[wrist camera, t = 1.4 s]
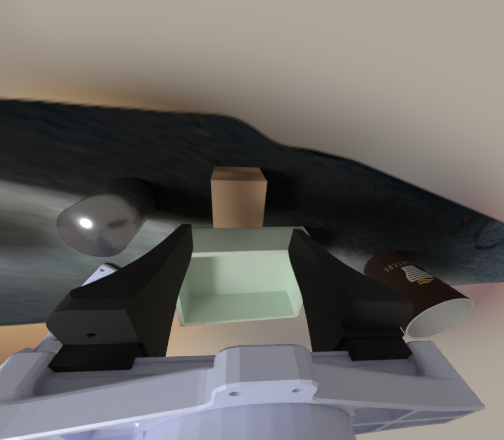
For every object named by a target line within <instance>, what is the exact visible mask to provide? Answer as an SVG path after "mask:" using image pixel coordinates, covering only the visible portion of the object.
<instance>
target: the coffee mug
mask: <svg viewBox="0 0 504 440" xmlns="http://www.w3.org/2000/svg"><path fill="white" fill-rule="evenodd" d="M364 273H365V275H366V276H367V277H369V278H371V279H373V280H375V281H377V282H379V283H381V284H384V285H386V286H388V287H391V288H393V289H395V290H398V291H400V292H401V293H402V294H403V295H404V296H405V297H406V299H407V300H408V301H409V302H410V303H411V305H412V306H413V309H414V310H413V314H412V316H411V317H410V318H409V319H408V320H407V321H406V322H405V323H404V324H403V325H402V326H401V328H402V329H403V331H404V332H405V334H406V335H407V336H408V337H409V338H412V339H423V338H428V337H432V336H435V335H438V334H441V333H443V332H446V331H448V330H450V329H452V328H453V327H455V326H457V325H458V324H460V323H461V322H463V321H464V320H465V319H466V318H467V317H468V316H469V315H470V314H471V313H472V311H473V309H474V307H475V304H474V302H473V301H472V300H470V299H469V298H468V297H466V296H464V295H463V294H461V293H460V292H458V291H457V290H455V289H454V288H452V287H450V286H449V285H447V284H446V283H444V282H443V281H441V280H439V279H438V278H436V277H435V276H433V275H432V274H430V273H429V272H427V271H425V270H424V269H422V268H421V267H419V266H418V265H416V264H414V263H413V262H411V261H410V260H408V259H407V258H405V257H404V256H402V255H400V254H399V253H397V252H395V251H385V252H382V253H379V254H377V255H375V256H374V257H373V258H371V259H370V260H369V261H368V263H367V264H366V266H365V268H364Z"/></svg>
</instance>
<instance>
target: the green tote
mask: <svg viewBox="0 0 504 440" xmlns="http://www.w3.org/2000/svg"><path fill="white" fill-rule="evenodd" d="M176 229H177V228H175V230H176ZM293 229H302V230H303V231H305V232H306V233H307V234H308V232H307V231H306V230H305V228H304V227H303V226H302V227H262V228H215V229H214V228H192V237H193V252H192V257H191V261H190V264H189V267H188V270H187V272H186V275H185V278H184V281H183V284H182V286H181V289H180V293H179V296H178V300H177V304H176V309H177V313H178V317H179V321H180V326H181V327H182V326H193V325H206V324H217V323H231V322H243V321H255V320H267V319H279V318H291V317H298V315H299V311H300V308H301V305H302V302H303V300H302V296H301V293H300V289H299V286H298V284H297V281H296V278H295V275H294V272H293V269H292V266H291V263H290V260H289V255H288V247H289V243H290V239H291V236H292V232H293ZM175 230H174V231H175ZM308 235H309V234H308ZM309 236H310V235H309Z"/></svg>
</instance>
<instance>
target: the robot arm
mask: <svg viewBox="0 0 504 440" xmlns="http://www.w3.org/2000/svg"><path fill="white" fill-rule="evenodd" d="M192 252H193V237H192V226H191V224H181V225H180V226H179V227H178V228H177V229H176V230H175V231H174V232H172V233H171V234H170V235H169V236H168V237H167V238H166V239H165V240H163V241H162V242H161V243H160V244H158V245H157V246H156V247H155V248H153V249H152V250H151V251H149V252H148V253H146V254H145V255H143V256H142V257H140V258H139V259H137V260H135V261H134V262H132V263H130V264H128V265H127V266H125V267H123V268H121V269H119V270H118V269H116V268H114V267H112V266H110V265H108V264H102V265H101V266H100V267H99V268H98V269H97V270H96V271H95V272H94V273H93V275H92V276H91V277H90V278H89V279H88V280H87V281H86V282H85V283H84V284H83V285H82V286H81V287H78V288H76V289H73V290H71V291H70V292H69V293H68V294H67V296H66V297H65V298H64V299H63V300H62V301H61V302H60V303H59V305H58V306H57V307H56V308H55V309H54V310H53V311H52V313H51V314H50V315H49V316H48V317H47V319H46V326H47V328H48V330H49V331H50V332H49V333H48V334H47V336H46V337H45V338H44V339H43V341H42V342H41V343H40V344H39V345H38V346H37V347H36V348H35V349H31V348H25V349H24V350H23V351H19V352H17V353H14V354H12V355H11V356H10V357H9V358H8V359H7V360H6V361H5V362H4V363H3V364H2V365H1V366H0V440H356V437H355V435H357V434H364V433H371V432H379V431H385V430H392V429H400V428H407V427H414V426H424V425H434V424H444V423H447V422H450V421H453V420H456V419H458V418H461V417H464V416H466V415H469V414H472V413H475V412H477V411H480V410H483V409H485V406H484V404H483V403H482V402H481V401H480V399H479V398H478V397H477V396H476V394H475V393H474V392H473V391H472V389H471V388H470V387H469V386H468V385H467V383H466V382H465V381H464V380H463V379H462V377H461V376H460V375H459V374H458V372H457V371H456V370H455V369H454V368H453V366H452V365H451V364H450V363H449V361H448V360H447V359H446V357H445V356H444V355H443V354H442V353H441V351H440V350H439V349H438V348H437V346H436V345H435V344H434V343H433V342H432V341H412V342H408V343H405V341H404V340H403V338H402V337H403V336H404V333H403V331H402V330H401V329H400V327H401V326H402V325H403V324H404V323H405V322H406V321H407V320H408V319H409V318H410V317H411V316H412V314H413V310H414V309H413V306H412V305H411V303H410V302H409V301H408V300H407V299H406V297H405V296H404V295H403V294H402V293H401V292H400V291H398V290H395V289H393V288H391V287H388V286H386V285H384V284H381V283H379V282H377V281H375V280H373V279H371V278H369V277H367V276H365V275H363V274H361V273H359V272H358V271H356V270H354V269H352V268H351V267H349V266H347V265H346V264H344V263H343V262H341V261H340V260H338V259H337V258H336V257H334V256H333V255H332V254H330V253H329V252H328V251H326V250H325V249H324V248H323V247H322V246H320V245H319V244H318V243H317V242H316V241H315V240H314V239H312V238H311V237H310V236H309V235H308V234H307V233H306V232H305V231H303V230H302V229H293V232H292V236H291V239H290V243H289V247H288V255H289V260H290V263H291V266H292V269H293V272H294V275H295V278H296V281H297V284H298V286H299V289H300V293H301V296H302V300H303V305H304V309H305V313H306V319H307V323H308V328H309V334H310V339H311V346H312V352H310V351H309V350H308V349H306V348H305V347H303V346H302V345H295V344H277V345H276V344H275V345H240V346H233V347H227V348H225V349H223V350H221V351H220V352H219V353H218V354H217V355H209V356H177V357H166V352H167V346H168V341H169V336H170V331H171V326H172V322H173V317H174V313H175V309H176V304H177V300H178V296H179V293H180V289H181V286H182V284H183V281H184V278H185V275H186V272H187V270H188V267H189V264H190V261H191V257H192Z"/></svg>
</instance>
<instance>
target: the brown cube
mask: <svg viewBox="0 0 504 440" xmlns="http://www.w3.org/2000/svg"><path fill="white" fill-rule="evenodd" d="M266 187H267V180H266V179H265V177H264V175H263V174H262V172H261V170H260V169H259V168H250V167H217V166H214V170H213V174H212V178H211V189H212V208H213V227H214V229H215V228H262V226H263V216H264V206H265V197H266Z"/></svg>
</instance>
